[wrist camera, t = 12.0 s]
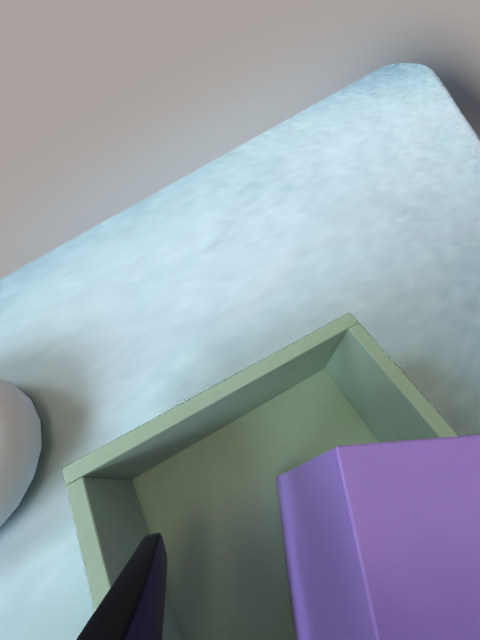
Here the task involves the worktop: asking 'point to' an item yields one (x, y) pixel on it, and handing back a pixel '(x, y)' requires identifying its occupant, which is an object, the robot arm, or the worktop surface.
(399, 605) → the purple rectangular block
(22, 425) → the donut
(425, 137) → the worktop surface
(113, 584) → the robot arm
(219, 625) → the green square tray
